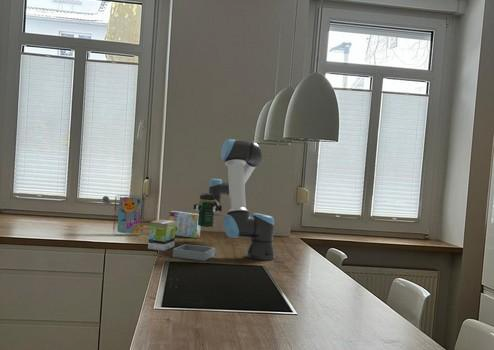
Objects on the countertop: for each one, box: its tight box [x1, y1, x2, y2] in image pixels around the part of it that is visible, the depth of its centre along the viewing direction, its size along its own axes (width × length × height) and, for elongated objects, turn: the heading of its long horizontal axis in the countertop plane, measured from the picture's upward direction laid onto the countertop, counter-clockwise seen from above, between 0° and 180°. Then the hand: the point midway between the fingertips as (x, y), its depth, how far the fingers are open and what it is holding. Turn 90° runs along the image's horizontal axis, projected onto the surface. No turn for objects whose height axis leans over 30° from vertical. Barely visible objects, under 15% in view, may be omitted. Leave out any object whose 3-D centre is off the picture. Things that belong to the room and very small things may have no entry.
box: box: [102, 194, 146, 237], centre depth 312 cm, size 25×6×24 cm, turn 113°
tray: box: [172, 243, 217, 262], centre depth 266 cm, size 17×17×4 cm
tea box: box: [147, 219, 176, 252], centre depth 281 cm, size 15×10×15 cm
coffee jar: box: [198, 192, 215, 228], centre depth 285 cm, size 10×8×19 cm
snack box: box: [168, 210, 202, 239], centre depth 329 cm, size 21×6×15 cm, turn 65°
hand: (205, 209), depth 280 cm, fingers closed on coffee jar, 8 cm apart
